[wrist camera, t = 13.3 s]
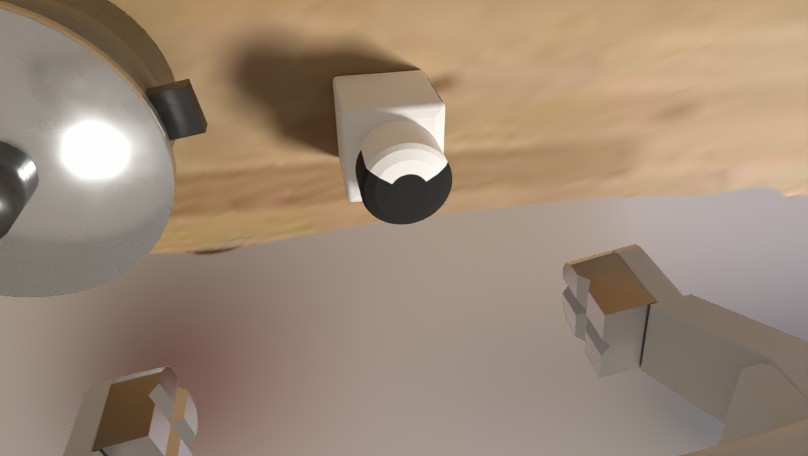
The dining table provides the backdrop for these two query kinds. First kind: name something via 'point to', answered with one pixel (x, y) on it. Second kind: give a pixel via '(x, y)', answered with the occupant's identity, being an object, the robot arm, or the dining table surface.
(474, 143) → the dining table surface
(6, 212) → the lid
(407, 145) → the medicine bottle
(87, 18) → the pot
